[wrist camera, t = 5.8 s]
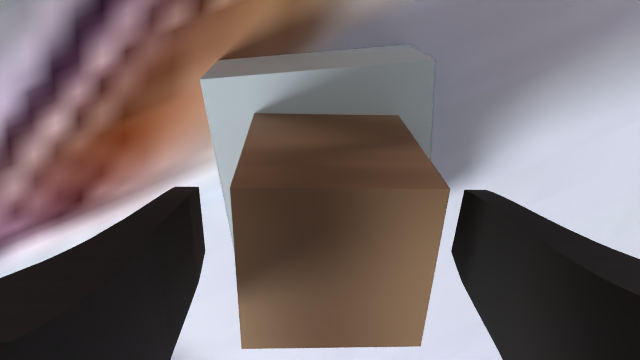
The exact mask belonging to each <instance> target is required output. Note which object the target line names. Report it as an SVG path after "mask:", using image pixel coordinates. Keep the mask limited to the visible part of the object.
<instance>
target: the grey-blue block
mask: <svg viewBox="0 0 640 360" xmlns="http://www.w3.org/2000/svg"><path fill="white" fill-rule="evenodd" d="M434 75H435V59H433V58H432V57H430V56H428V55H427V54H425V53H424V52H422V51H420V50H419V49H417V48H415V47H414V46H412V45H411V44H404V45H392V46H380V47H368V48H356V49H345V50H333V51H321V52H309V53H297V54H285V55H273V56H261V57H249V58H238V59H226V60H218V61H217V62H216V63H215V64H214V65H213V66H212V67H211V68H210V69H209V70H208V71H207V72H206V74H205V75H204V76H203V77H202V78H201V79H200V83H201V88H202V93H203V98H204V103H205V108H206V113H207V118H208V123H209V128H210V133H211V138H212V143H213V148H214V153H215V158H216V163H217V168H218V173H219V177H220V182H221V187H222V192H223V197H224V202H225V207H226V212H227V217H228V222H229V227H230V232H231V237H232V242H233V247H234V238H233V224H232V211H231V197H230V185H231V182H232V179H233V176H234V173H235V170H236V167H237V164H238V161H239V158H240V155H241V152H242V149H243V146H244V143H245V140H246V137H247V134H248V131H249V127H250V124H251V121H252V118H253V115H254V113H274V114H339V115H399V117H400V118H401V120H402V121H403V122H404V124H405V125H406V127H407V128H408V129H409V131H410V132H411V134H412V135H413V137H414V138H415V139H416V141H417V142H418V144H419V145H420V147H421V148H422V149H423V151H424V152H425V154H426V155H427V157H428V158H429V159H430V158H431V138H432V117H433V96H434ZM234 252H235V251H234Z"/></svg>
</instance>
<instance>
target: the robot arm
mask: <svg viewBox="0 0 640 360" xmlns="http://www.w3.org/2000/svg"><path fill="white" fill-rule="evenodd" d="M451 252H452V255H453V258H454V261H455V264H456V267H457V270H458V272H459V275H460V278H461V280H462V283H463V285H464V287H465V289H466V291H467V293H468V295H469V296H470V298H471V300H472V302H473V304H474V306H475V308H476V310H477V312H478V313H479V315H480V317H481V319H482V321H483V323H484V325H485V326H486V328H487V330H488V332H489V334H490V336H491V338H492V340H493V341H494V343H495V345H496V347H497V349H498V351H499V353H500V355H501V357H502V359H503V360H640V259H637V258H635V257H632V256H630V255H627V254H624V253H622V252H619V251H617V250H614V249H611V248H609V247H607V246H604V245H602V244H599V243H597V242H595V241H593V240H590V239H588V238H586V237H584V236H582V235H579V234H577V233H575V232H573V231H571V230H569V229H566V228H564V227H562V226H560V225H558V224H556V223H554V222H552V221H550V220H548V219H546V218H544V217H542V216H540V215H538V214H536V213H534V212H532V211H531V210H529V209H527V208H525V207H523V206H521V205H519V204H517V203H515V202H513V201H511V200H509V199H507V198H505V197H502V196H500V195H498V194H496V193H493V192H490V191H488V190H464V195H463V199H462V204H461V209H460V213H459V218H458V223H457V227H456V232H455V237H454V241H453V246H452V251H451ZM204 254H205V244H204V234H203V224H202V214H201V204H200V195H199V187H174V188H172V189H170V190H168V191H167V192H165V193H163V194H162V195H160V196H159V197H157V198H156V199H154V200H153V201H151V202H150V203H148V204H147V205H145V206H143V207H142V208H140V209H139V210H137V211H136V212H134V213H133V214H131V215H130V216H128V217H126V218H125V219H123V220H122V221H120V222H118V223H116V224H115V225H113V226H111V227H110V228H108V229H106V230H104V231H103V232H101V233H99V234H98V235H96V236H94V237H92V238H90V239H89V240H87V241H85V242H83V243H81V244H79V245H77V246H75V247H73V248H71V249H69V250H67V251H65V252H62V253H60V254H58V255H56V256H54V257H52V258H50V259H47V260H45V261H43V262H40V263H38V264H35V265H33V266H30V267H27V268H25V269H22V270H20V271H17V272H15V273H12V274H10V275H7V276H5V277H2V278H0V360H170V359H171V356H172V353H173V351H174V348H175V345H176V343H177V340H178V337H179V334H180V332H181V329H182V326H183V324H184V321H185V318H186V316H187V313H188V310H189V308H190V305H191V302H192V299H193V297H194V294H195V291H196V288H197V285H198V282H199V278H200V274H201V269H202V264H203V259H204Z"/></svg>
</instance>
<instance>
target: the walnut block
mask: <svg viewBox="0 0 640 360" xmlns="http://www.w3.org/2000/svg"><path fill="white" fill-rule="evenodd" d="M449 192H450V188H449V187H448V185H447V184H446V182H445V181H444V179H443V178H442V177H441V175H440V174H439V172H438V171H437V169H436V168H435V167H434V165H433V164H432V162H431V161H430V159H429V158H428V157H427V155H426V154H425V152H424V151H423V149H422V148H421V147H420V145H419V144H418V142H417V141H416V139H415V138H414V137H413V135H412V134H411V132H410V131H409V129H408V128H407V127H406V125H405V124H404V122H403V121H402V120H401V118H400V117H399V115H339V114H274V113H254V115H253V118H252V121H251V124H250V127H249V131H248V134H247V137H246V140H245V143H244V146H243V149H242V152H241V155H240V158H239V161H238V164H237V167H236V170H235V173H234V176H233V179H232V182H231V185H230V197H231V211H232V224H233V238H234V251H235V265H236V278H237V292H238V305H239V319H240V332H241V346H242V349H262V348H334V347H407V346H421V341H422V336H423V331H424V325H425V320H426V315H427V309H428V304H429V299H430V293H431V288H432V283H433V277H434V272H435V267H436V261H437V256H438V251H439V245H440V240H441V235H442V230H443V224H444V219H445V214H446V208H447V203H448V198H449Z"/></svg>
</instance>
